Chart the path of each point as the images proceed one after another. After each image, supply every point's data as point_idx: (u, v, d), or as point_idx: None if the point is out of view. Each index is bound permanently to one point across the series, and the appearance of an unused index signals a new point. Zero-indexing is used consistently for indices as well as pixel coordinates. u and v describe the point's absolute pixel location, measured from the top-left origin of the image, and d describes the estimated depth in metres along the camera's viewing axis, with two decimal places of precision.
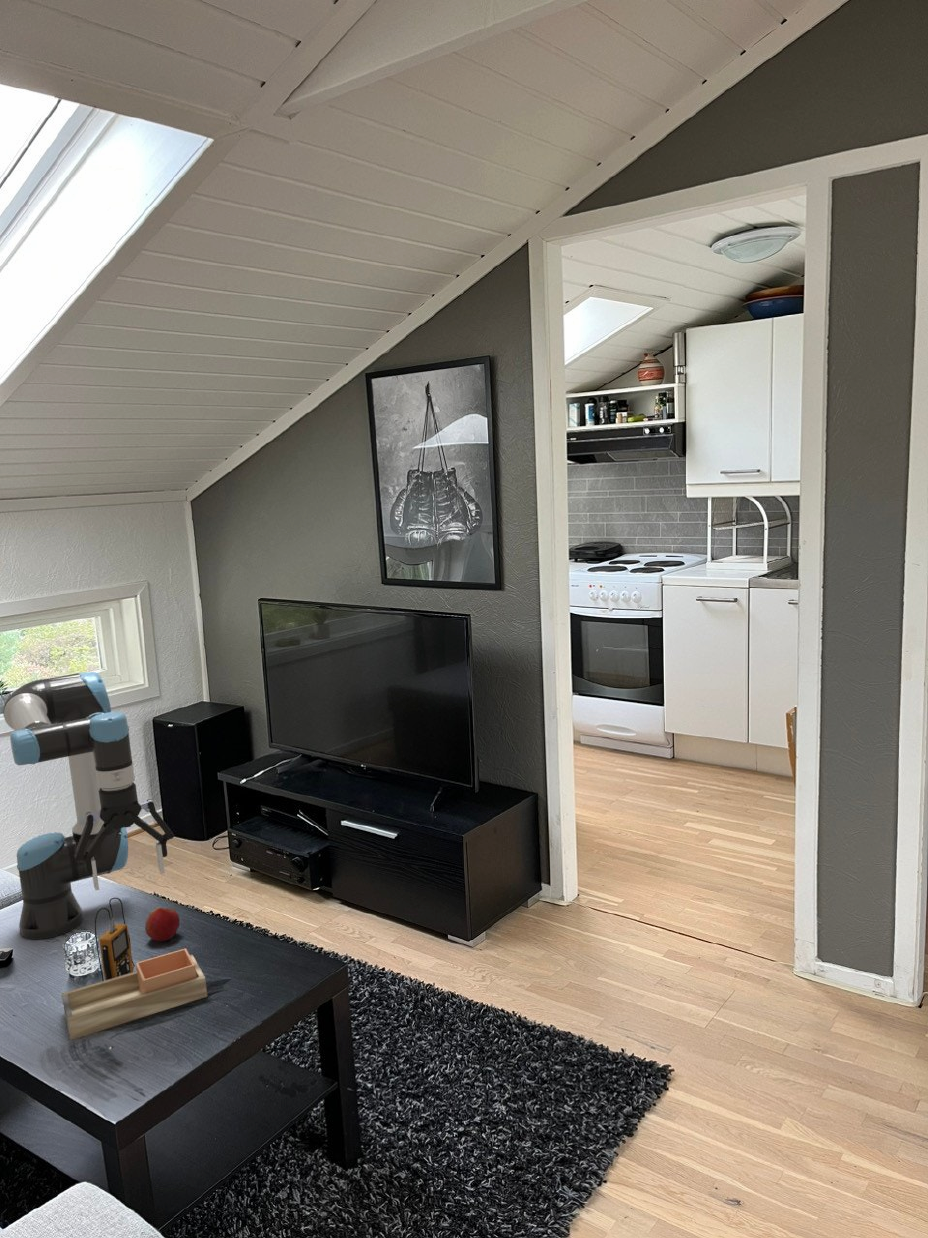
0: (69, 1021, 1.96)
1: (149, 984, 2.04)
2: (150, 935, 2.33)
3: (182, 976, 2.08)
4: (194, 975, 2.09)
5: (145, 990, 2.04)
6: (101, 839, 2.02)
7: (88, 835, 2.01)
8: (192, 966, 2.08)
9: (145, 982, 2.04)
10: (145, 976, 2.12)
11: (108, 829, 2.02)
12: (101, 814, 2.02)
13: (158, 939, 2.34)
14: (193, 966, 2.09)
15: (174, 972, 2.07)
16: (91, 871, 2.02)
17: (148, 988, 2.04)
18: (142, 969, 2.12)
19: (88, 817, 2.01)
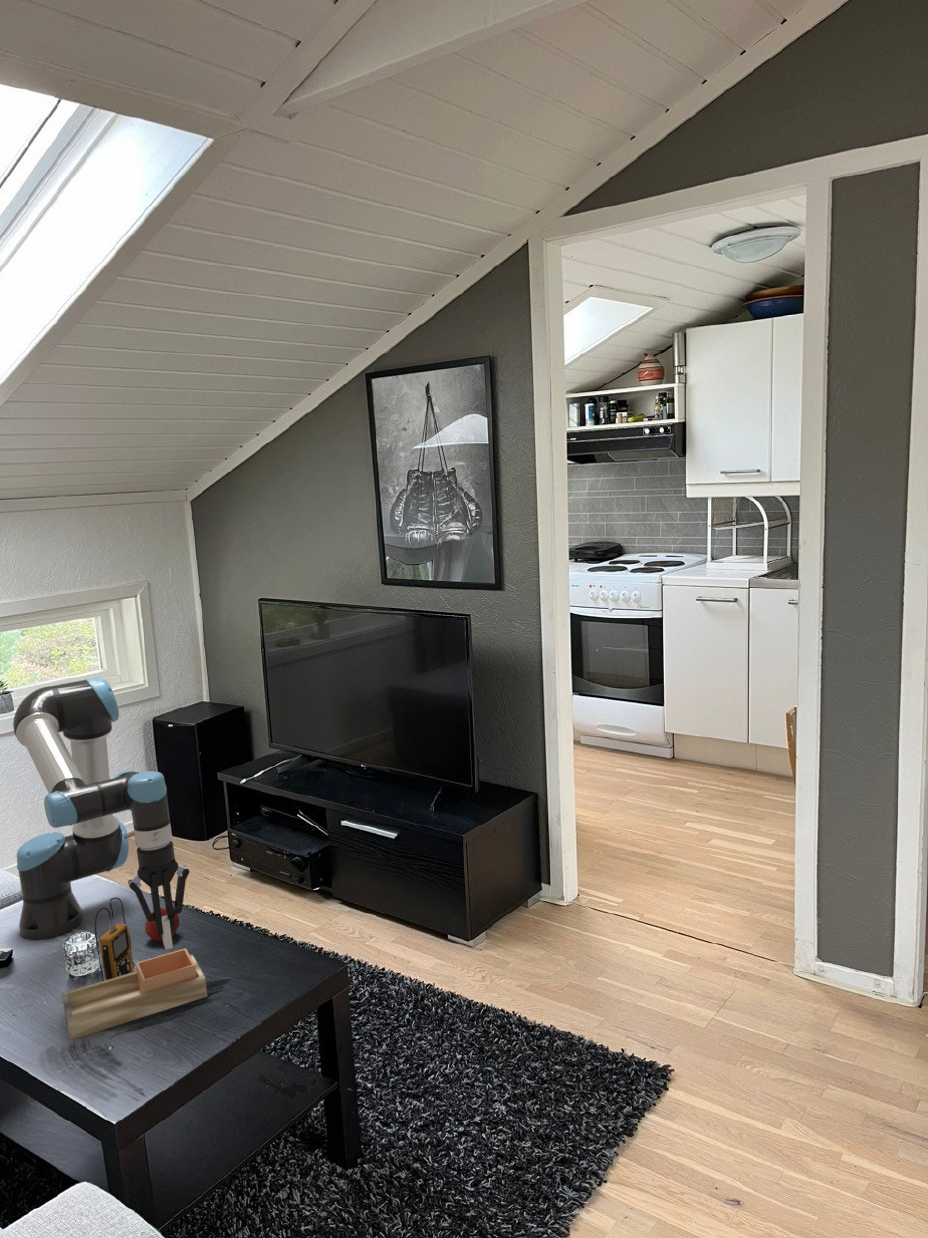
0: (69, 1021, 1.96)
1: (149, 984, 2.04)
2: (150, 935, 2.33)
3: (182, 976, 2.08)
4: (194, 975, 2.09)
5: (145, 990, 2.04)
6: (156, 898, 2.06)
7: (143, 898, 2.05)
8: (192, 966, 2.08)
9: (145, 982, 2.04)
10: (145, 976, 2.12)
11: (155, 888, 2.05)
12: (139, 876, 2.04)
13: (158, 939, 2.34)
14: (193, 966, 2.09)
15: (174, 972, 2.07)
16: (162, 931, 2.08)
17: (148, 988, 2.04)
18: (142, 969, 2.12)
19: (130, 886, 2.03)
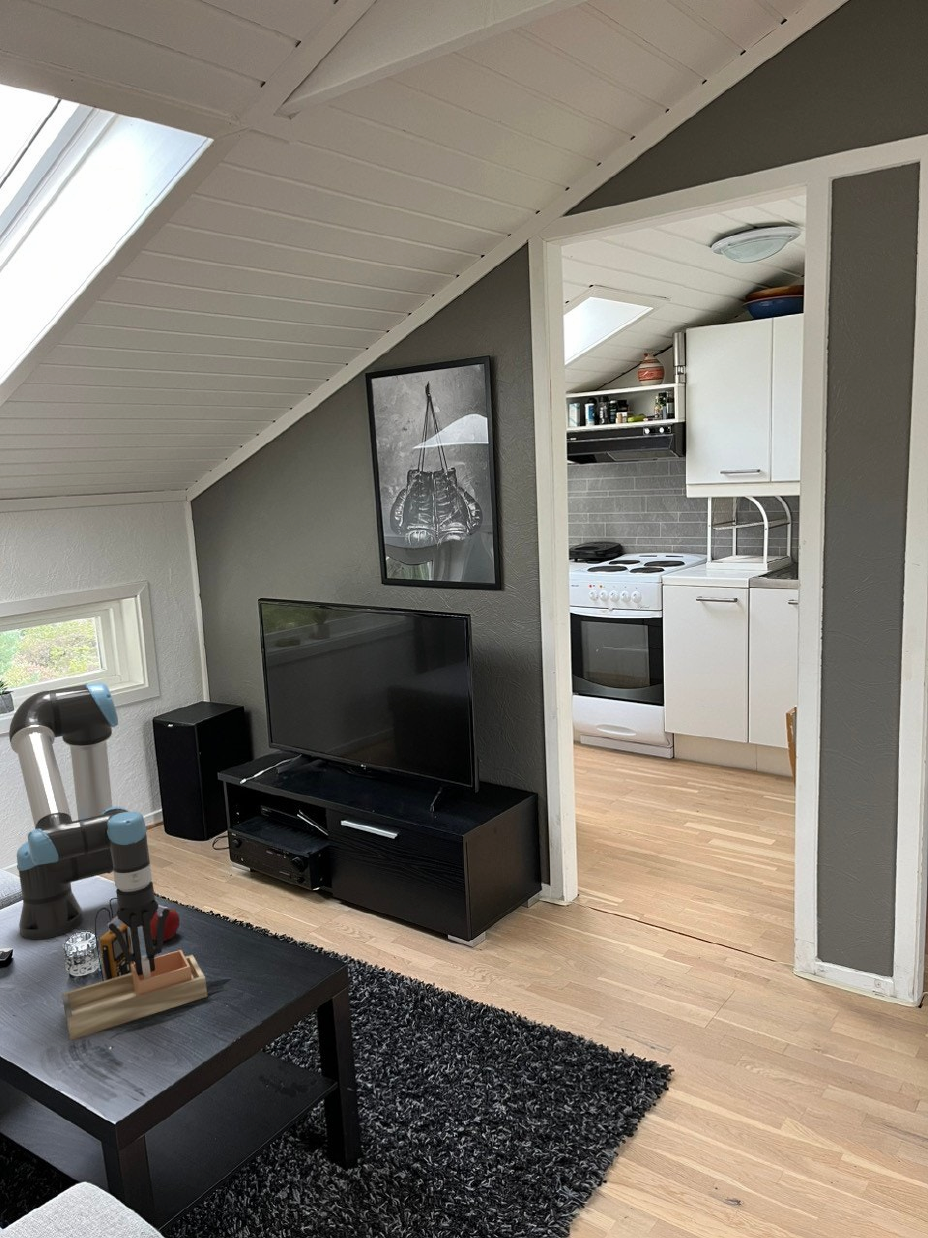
0: (69, 1021, 1.96)
1: (144, 986, 2.04)
2: None
3: (177, 978, 2.07)
4: (189, 977, 2.08)
5: (140, 992, 2.04)
6: (136, 939, 2.05)
7: (122, 939, 2.04)
8: (187, 967, 2.08)
9: (140, 983, 2.03)
10: (140, 977, 2.12)
11: (135, 929, 2.04)
12: (118, 917, 2.03)
13: None
14: (188, 967, 2.08)
15: (169, 974, 2.06)
16: (141, 971, 2.07)
17: (143, 990, 2.04)
18: None
19: (110, 928, 2.02)
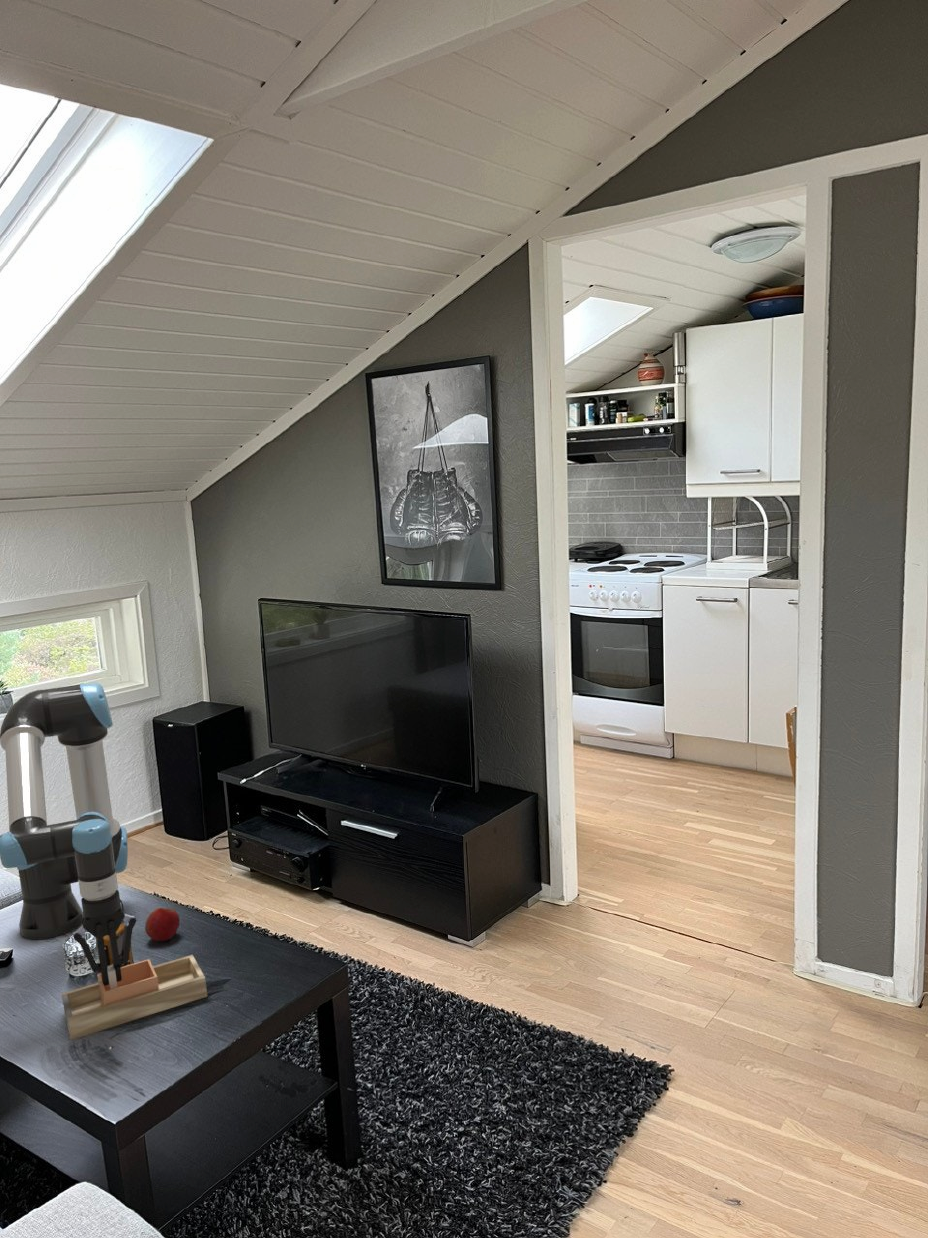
0: (69, 1021, 1.96)
1: (109, 996, 2.01)
2: (150, 935, 2.33)
3: (144, 988, 2.04)
4: (156, 987, 2.05)
5: (105, 1002, 2.00)
6: (102, 949, 2.02)
7: (87, 949, 2.01)
8: (154, 978, 2.05)
9: (106, 994, 2.00)
10: (107, 988, 2.09)
11: (100, 939, 2.01)
12: (84, 927, 2.00)
13: (158, 939, 2.34)
14: (155, 978, 2.05)
15: (135, 984, 2.03)
16: (107, 981, 2.04)
17: (109, 1000, 2.01)
18: None
19: (74, 937, 1.99)
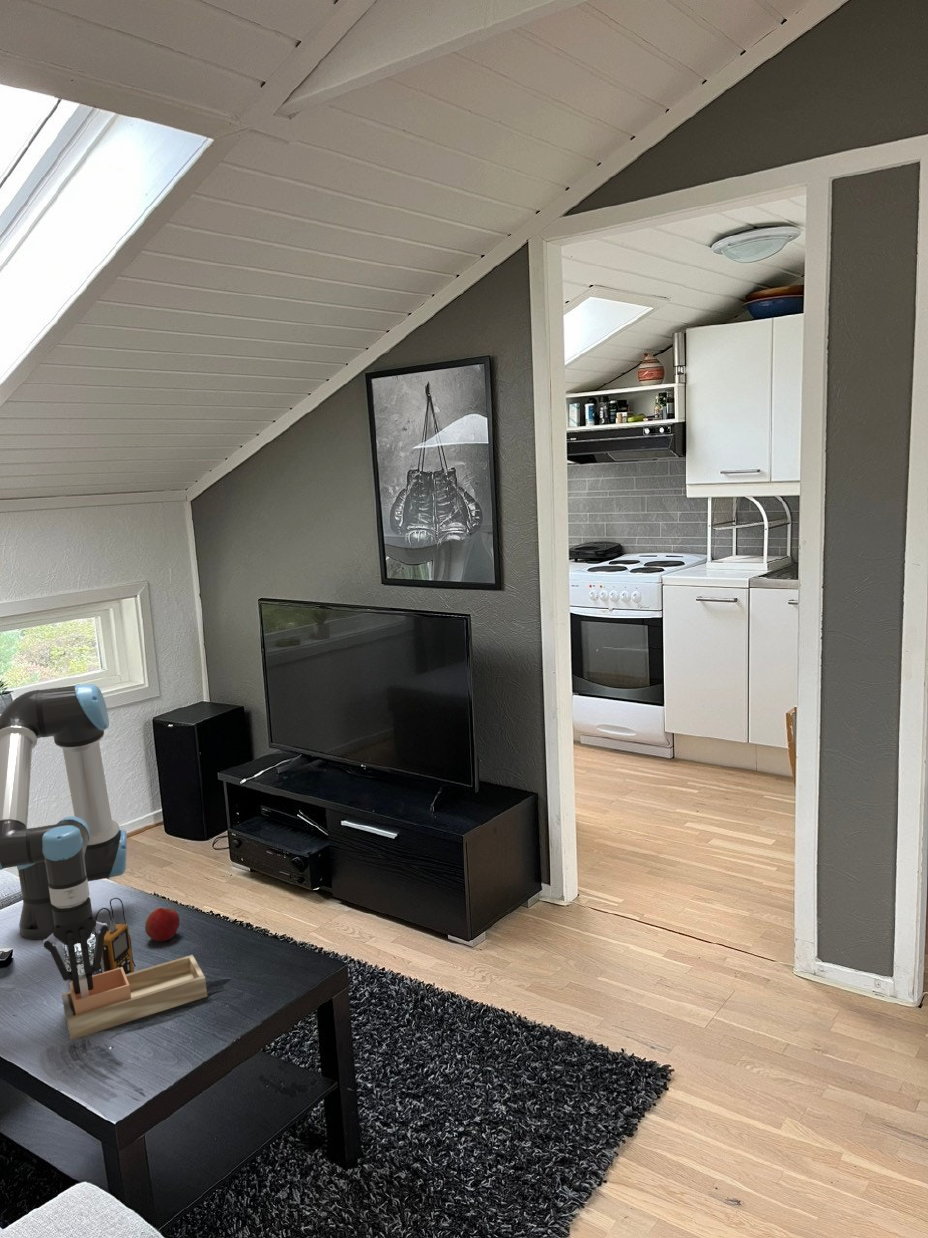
0: (69, 1021, 1.96)
1: (80, 1005, 1.98)
2: (150, 935, 2.33)
3: (116, 997, 2.01)
4: (128, 995, 2.02)
5: (76, 1011, 1.98)
6: (73, 957, 1.99)
7: (58, 957, 1.98)
8: (126, 986, 2.02)
9: (76, 1003, 1.97)
10: (79, 996, 2.06)
11: (71, 947, 1.98)
12: (54, 934, 1.97)
13: (158, 939, 2.34)
14: (127, 986, 2.02)
15: (107, 992, 2.00)
16: (79, 990, 2.01)
17: (80, 1009, 1.98)
18: None
19: (45, 945, 1.96)
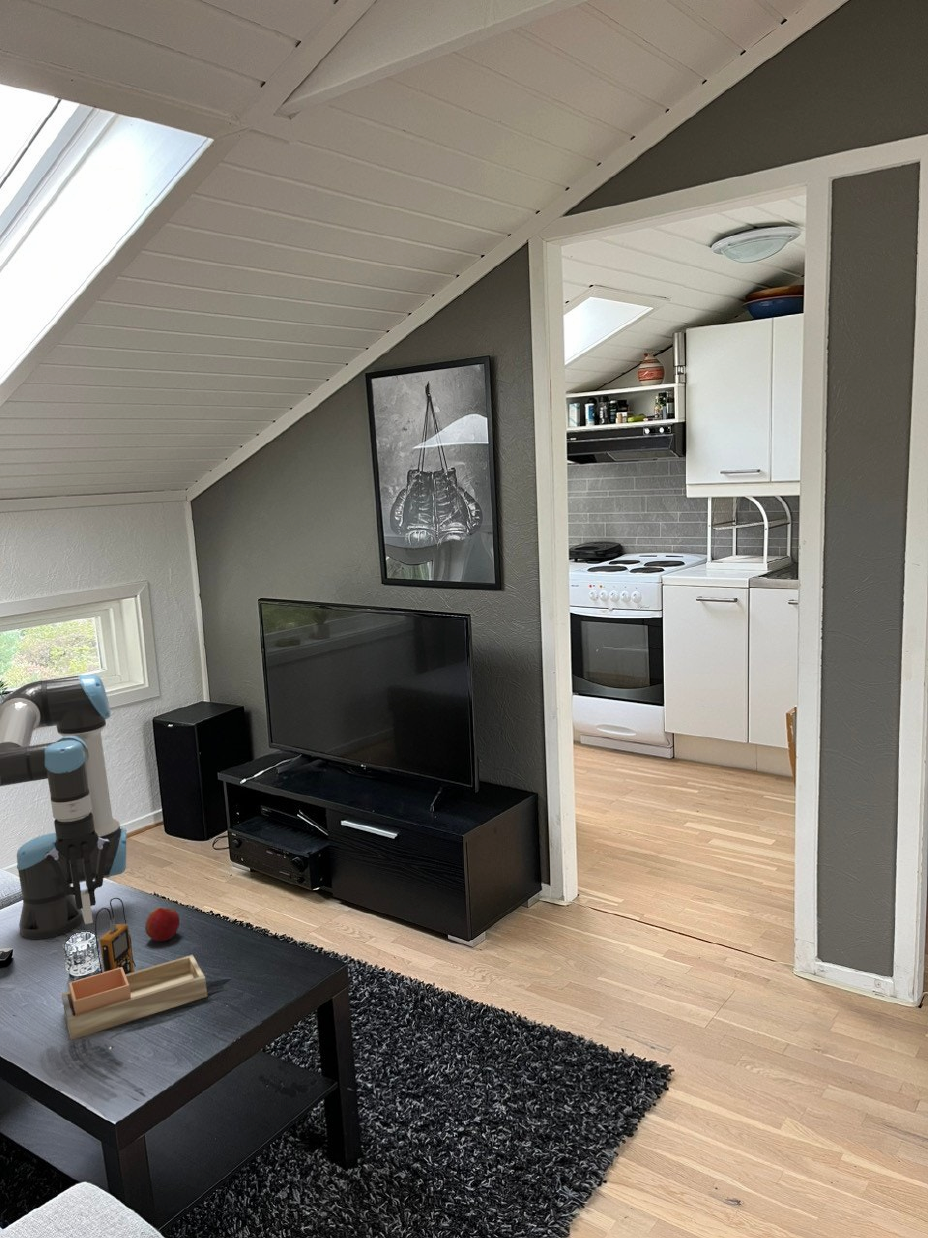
0: (69, 1021, 1.96)
1: (80, 1005, 1.98)
2: (150, 935, 2.33)
3: (115, 997, 2.01)
4: (128, 996, 2.02)
5: (76, 1011, 1.98)
6: (75, 872, 1.99)
7: (60, 871, 1.98)
8: (126, 986, 2.02)
9: (76, 1003, 1.97)
10: (79, 996, 2.06)
11: (73, 861, 1.98)
12: (56, 848, 1.97)
13: (158, 939, 2.34)
14: (127, 986, 2.02)
15: (107, 992, 2.00)
16: (81, 905, 2.01)
17: (79, 1009, 1.98)
18: (76, 989, 2.05)
19: (47, 859, 1.96)
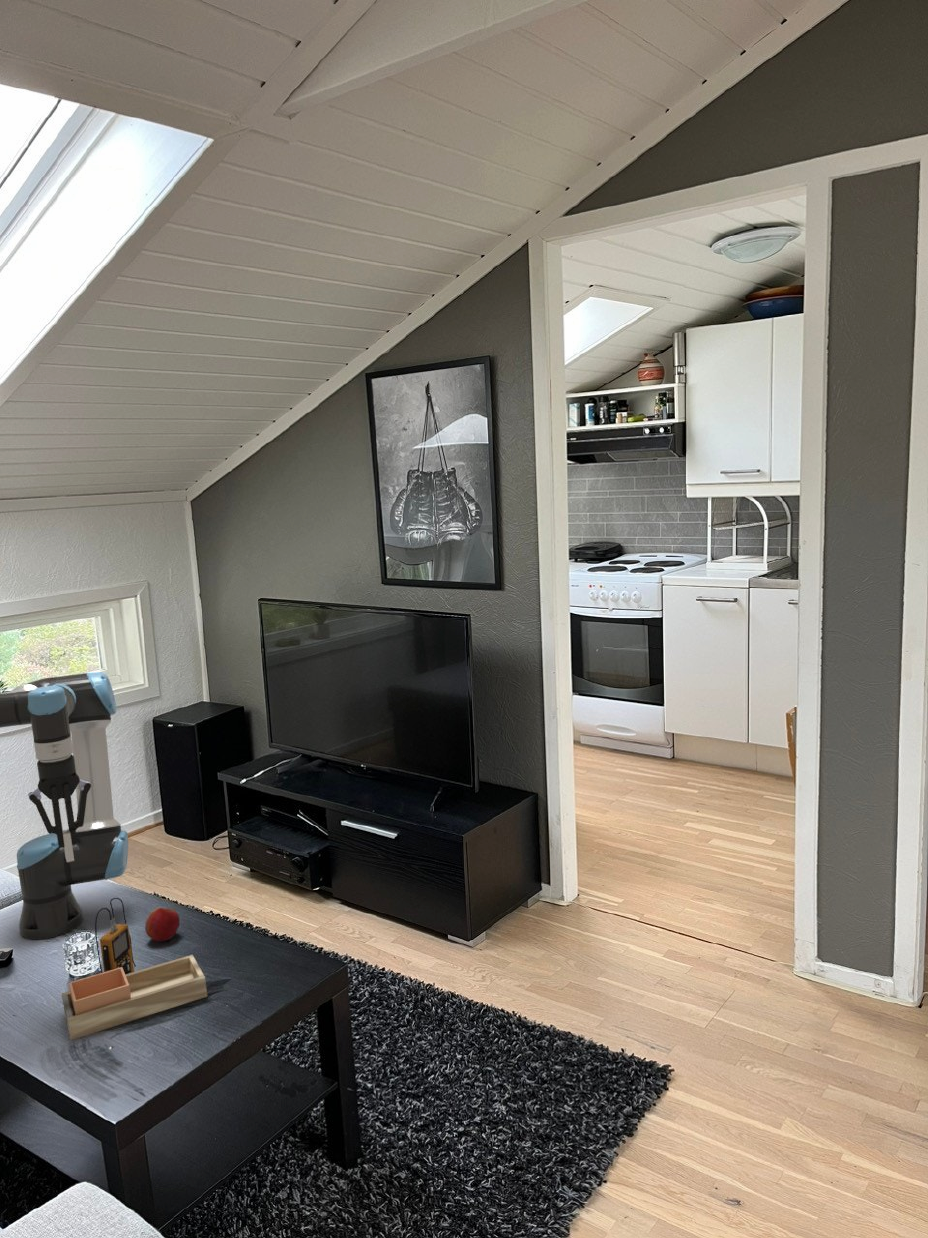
0: (69, 1021, 1.96)
1: (80, 1005, 1.98)
2: (150, 935, 2.33)
3: (115, 997, 2.01)
4: (128, 996, 2.02)
5: (76, 1011, 1.98)
6: (57, 811, 2.09)
7: (43, 810, 2.07)
8: (126, 986, 2.02)
9: (76, 1003, 1.97)
10: (79, 996, 2.06)
11: (55, 801, 2.08)
12: (39, 788, 2.07)
13: (158, 939, 2.34)
14: (127, 986, 2.02)
15: (107, 992, 2.00)
16: (63, 844, 2.11)
17: (79, 1009, 1.98)
18: (76, 989, 2.05)
19: (30, 798, 2.06)
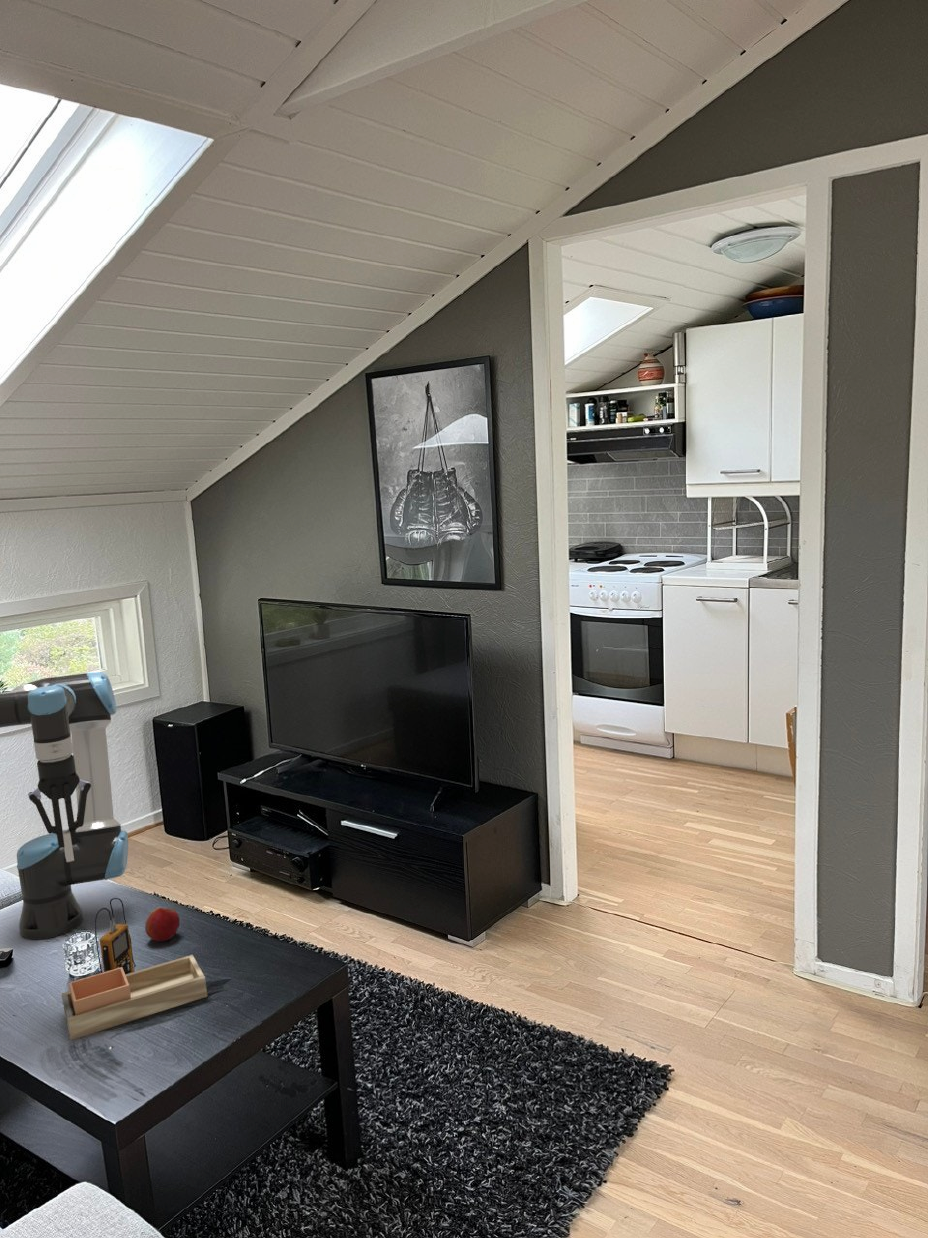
0: (69, 1021, 1.96)
1: (80, 1005, 1.98)
2: (150, 935, 2.33)
3: (115, 997, 2.01)
4: (128, 996, 2.02)
5: (76, 1011, 1.98)
6: (57, 811, 2.09)
7: (42, 810, 2.07)
8: (126, 986, 2.02)
9: (76, 1003, 1.97)
10: (79, 996, 2.06)
11: (55, 800, 2.08)
12: (39, 788, 2.07)
13: (158, 939, 2.34)
14: (127, 986, 2.02)
15: (107, 992, 2.00)
16: (63, 844, 2.11)
17: (79, 1009, 1.98)
18: (76, 989, 2.05)
19: (30, 798, 2.06)
